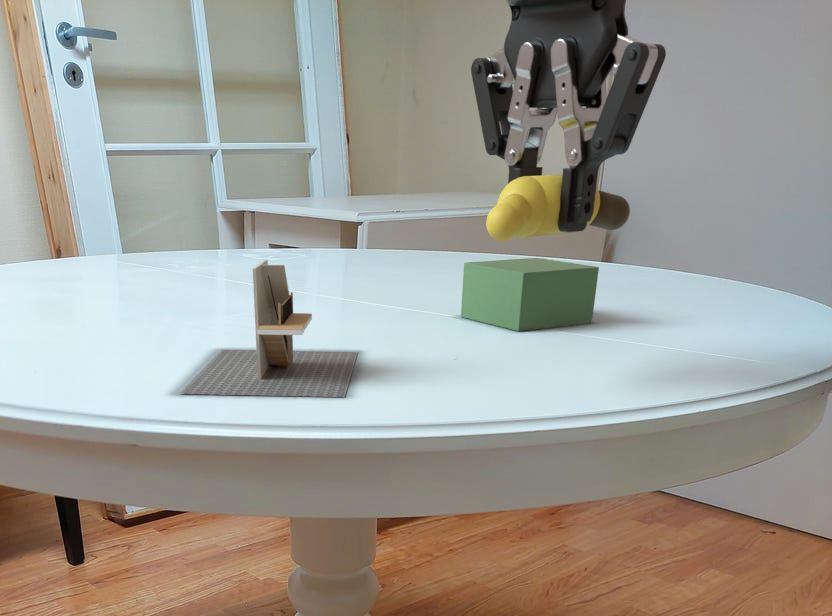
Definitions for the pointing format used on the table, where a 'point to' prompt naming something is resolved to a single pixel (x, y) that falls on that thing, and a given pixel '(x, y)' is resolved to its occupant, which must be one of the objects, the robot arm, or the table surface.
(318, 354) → the architectural model
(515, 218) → the knobbed yellow capsule
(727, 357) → the table surface
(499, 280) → the block
